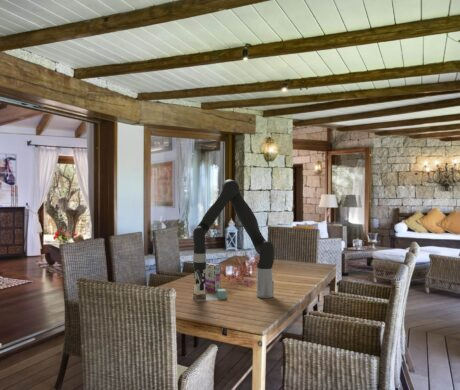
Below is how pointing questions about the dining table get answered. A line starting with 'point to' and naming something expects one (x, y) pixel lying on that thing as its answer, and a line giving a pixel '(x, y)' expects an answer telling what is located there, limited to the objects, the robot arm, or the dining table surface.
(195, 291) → the cream cube
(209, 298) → the board
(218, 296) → the teal cube
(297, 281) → the dining table surface
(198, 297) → the walnut base
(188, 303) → the dining table surface
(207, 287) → the candy bar box
